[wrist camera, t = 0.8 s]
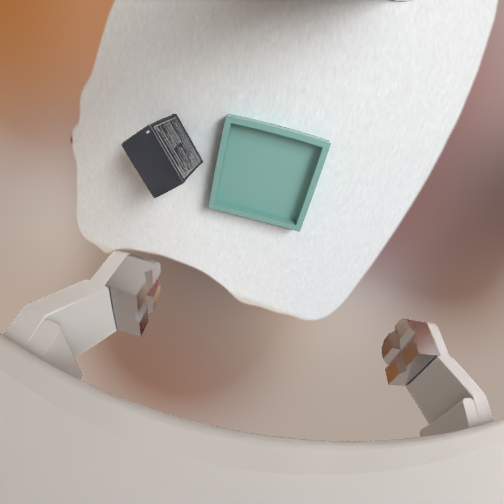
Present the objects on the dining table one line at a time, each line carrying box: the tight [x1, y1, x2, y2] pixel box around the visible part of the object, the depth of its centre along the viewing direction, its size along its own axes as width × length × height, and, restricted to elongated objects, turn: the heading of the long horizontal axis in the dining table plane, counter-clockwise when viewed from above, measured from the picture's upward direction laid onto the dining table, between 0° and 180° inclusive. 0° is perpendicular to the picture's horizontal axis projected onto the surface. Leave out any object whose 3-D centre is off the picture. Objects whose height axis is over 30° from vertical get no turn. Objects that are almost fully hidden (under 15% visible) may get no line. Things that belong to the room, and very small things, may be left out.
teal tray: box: [208, 114, 331, 232], centre depth 47 cm, size 17×17×3 cm
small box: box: [122, 114, 203, 198], centre depth 42 cm, size 11×6×10 cm, turn 26°
